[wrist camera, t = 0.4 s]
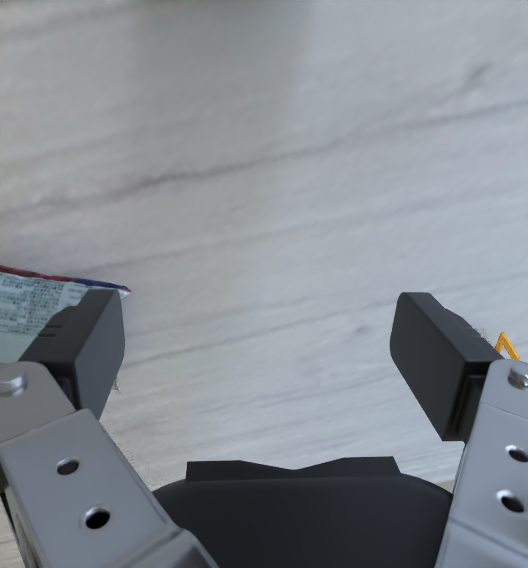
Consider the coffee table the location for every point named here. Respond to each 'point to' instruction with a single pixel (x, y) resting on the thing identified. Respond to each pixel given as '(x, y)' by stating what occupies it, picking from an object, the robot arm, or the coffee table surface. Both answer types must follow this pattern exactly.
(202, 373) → the coffee table surface
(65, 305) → the packaged food
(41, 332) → the robot arm
